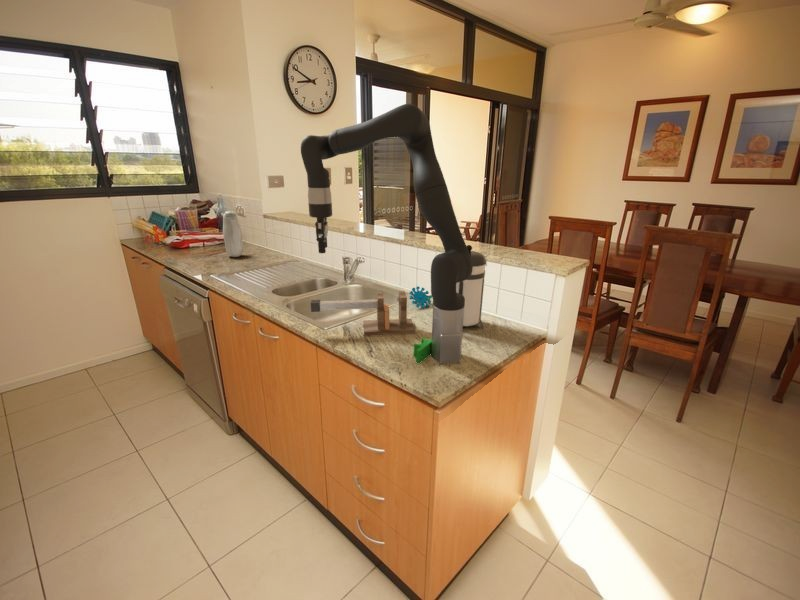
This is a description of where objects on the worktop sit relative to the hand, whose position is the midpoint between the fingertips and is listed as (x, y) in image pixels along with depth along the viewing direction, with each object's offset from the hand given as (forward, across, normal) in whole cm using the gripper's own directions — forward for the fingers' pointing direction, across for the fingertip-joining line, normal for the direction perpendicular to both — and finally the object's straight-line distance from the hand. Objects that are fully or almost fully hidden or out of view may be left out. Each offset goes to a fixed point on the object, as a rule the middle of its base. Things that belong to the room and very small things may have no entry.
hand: (323, 250), depth 129 cm
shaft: (+20, -6, -7) cm, 22 cm away
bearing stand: (+28, -6, -22) cm, 36 cm away
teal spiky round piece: (+28, +16, -38) cm, 50 cm away
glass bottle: (+28, +110, +64) cm, 130 cm away
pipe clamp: (+28, -26, -31) cm, 50 cm away
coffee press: (+28, -5, -49) cm, 57 cm away
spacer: (+27, -6, -21) cm, 35 cm away
